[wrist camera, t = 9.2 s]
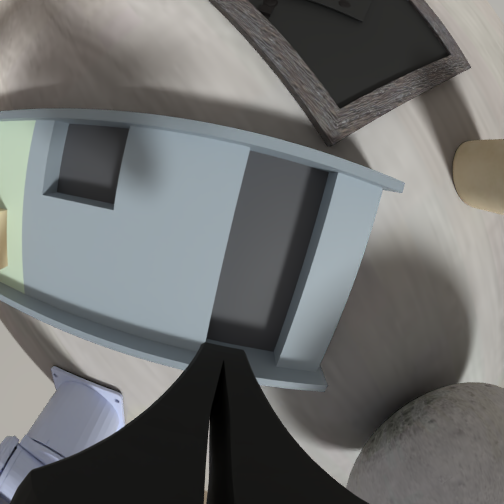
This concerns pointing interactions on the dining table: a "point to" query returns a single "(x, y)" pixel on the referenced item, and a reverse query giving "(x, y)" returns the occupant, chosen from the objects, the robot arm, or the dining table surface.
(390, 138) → the dining table surface
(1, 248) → the maple block
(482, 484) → the moon model
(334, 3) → the picture frame
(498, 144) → the candle
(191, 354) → the tray
